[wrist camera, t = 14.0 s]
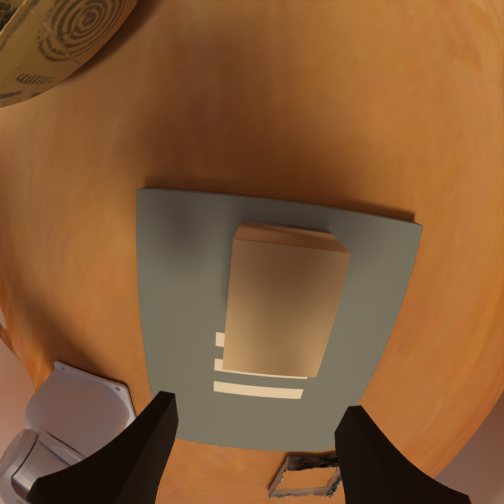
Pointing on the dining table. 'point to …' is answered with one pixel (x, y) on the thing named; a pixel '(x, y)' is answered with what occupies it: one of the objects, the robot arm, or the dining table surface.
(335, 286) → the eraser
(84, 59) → the ceramic bowl
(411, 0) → the dining table surface
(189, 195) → the slate board
